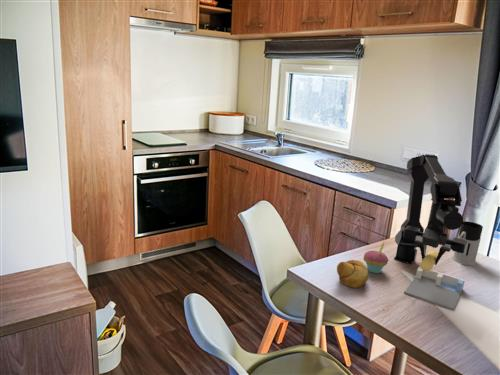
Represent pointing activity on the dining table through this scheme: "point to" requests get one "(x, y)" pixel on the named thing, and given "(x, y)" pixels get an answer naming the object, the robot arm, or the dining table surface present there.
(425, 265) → the yellow pill shape
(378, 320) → the dining table surface
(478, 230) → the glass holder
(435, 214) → the robot arm
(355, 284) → the bread roll
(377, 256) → the cupcake
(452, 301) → the capsule display stand
